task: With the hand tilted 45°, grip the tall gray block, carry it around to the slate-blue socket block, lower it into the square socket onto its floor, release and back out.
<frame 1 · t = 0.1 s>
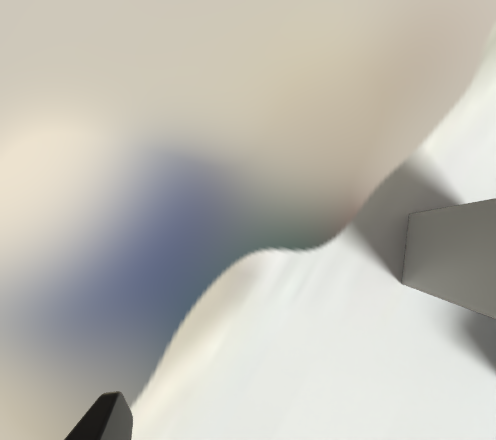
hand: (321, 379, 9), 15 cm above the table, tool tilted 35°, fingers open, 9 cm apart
gray block: (441, 253, 23), on the table
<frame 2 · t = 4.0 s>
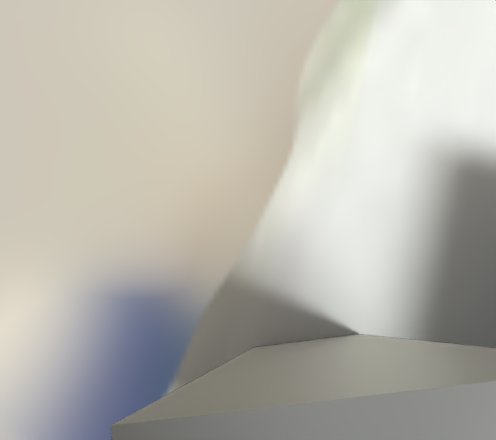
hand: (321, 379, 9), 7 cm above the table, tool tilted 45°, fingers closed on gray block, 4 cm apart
gray block: (314, 397, 15), on the table, touching gripper
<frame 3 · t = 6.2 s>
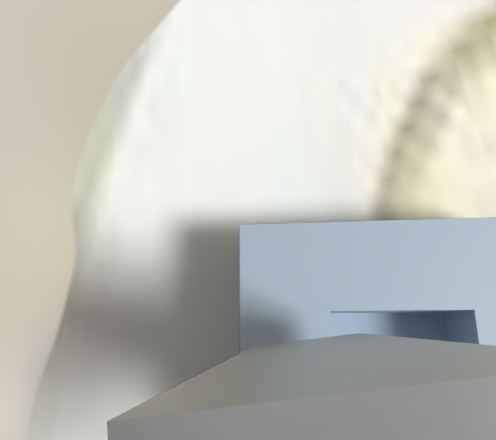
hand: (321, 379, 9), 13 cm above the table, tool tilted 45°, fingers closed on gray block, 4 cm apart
socket block: (384, 372, 21), on the table
gray block: (314, 396, 15), point 7 cm above the table, touching gripper
when the fingers open (8 cm above the table, at t = 8.6 s): gray block stays where it is, resting on socket block.
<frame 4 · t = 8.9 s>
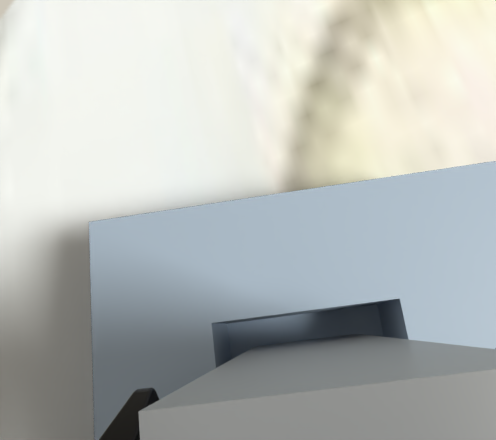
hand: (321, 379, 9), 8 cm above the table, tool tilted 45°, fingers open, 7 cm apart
socket block: (312, 390, 17), on the table
gray block: (313, 394, 16), point 1 cm above the table, touching socket block
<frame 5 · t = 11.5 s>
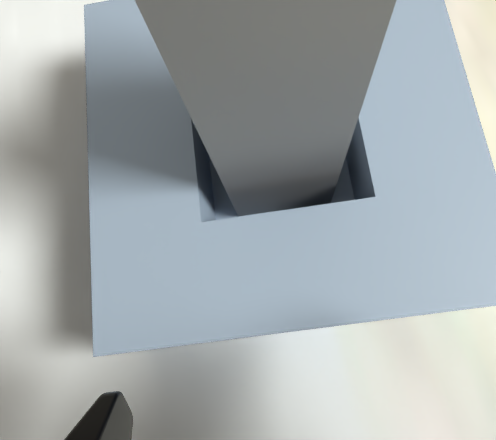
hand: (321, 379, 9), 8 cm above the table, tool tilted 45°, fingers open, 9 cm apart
socket block: (278, 174, 19), on the table
gray block: (277, 166, 18), point 1 cm above the table, touching socket block
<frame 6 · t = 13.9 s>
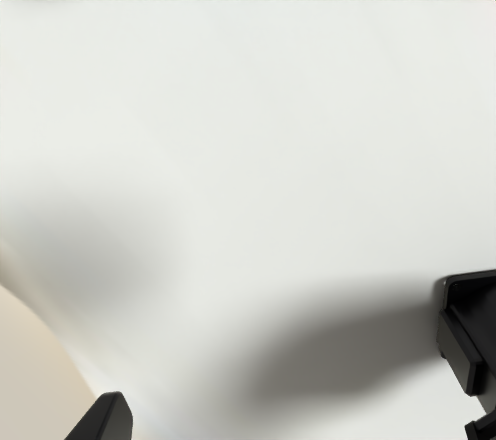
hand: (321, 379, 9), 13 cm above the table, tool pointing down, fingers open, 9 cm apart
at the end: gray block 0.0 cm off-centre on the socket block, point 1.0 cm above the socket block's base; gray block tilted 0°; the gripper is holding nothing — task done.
